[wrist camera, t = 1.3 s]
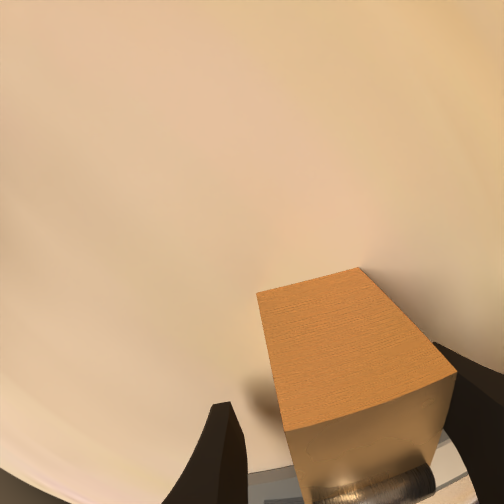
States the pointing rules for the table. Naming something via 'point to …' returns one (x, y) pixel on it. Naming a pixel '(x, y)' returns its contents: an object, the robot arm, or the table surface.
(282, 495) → the coupling base
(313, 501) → the block
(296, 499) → the shaft
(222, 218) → the table surface
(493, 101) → the table surface
